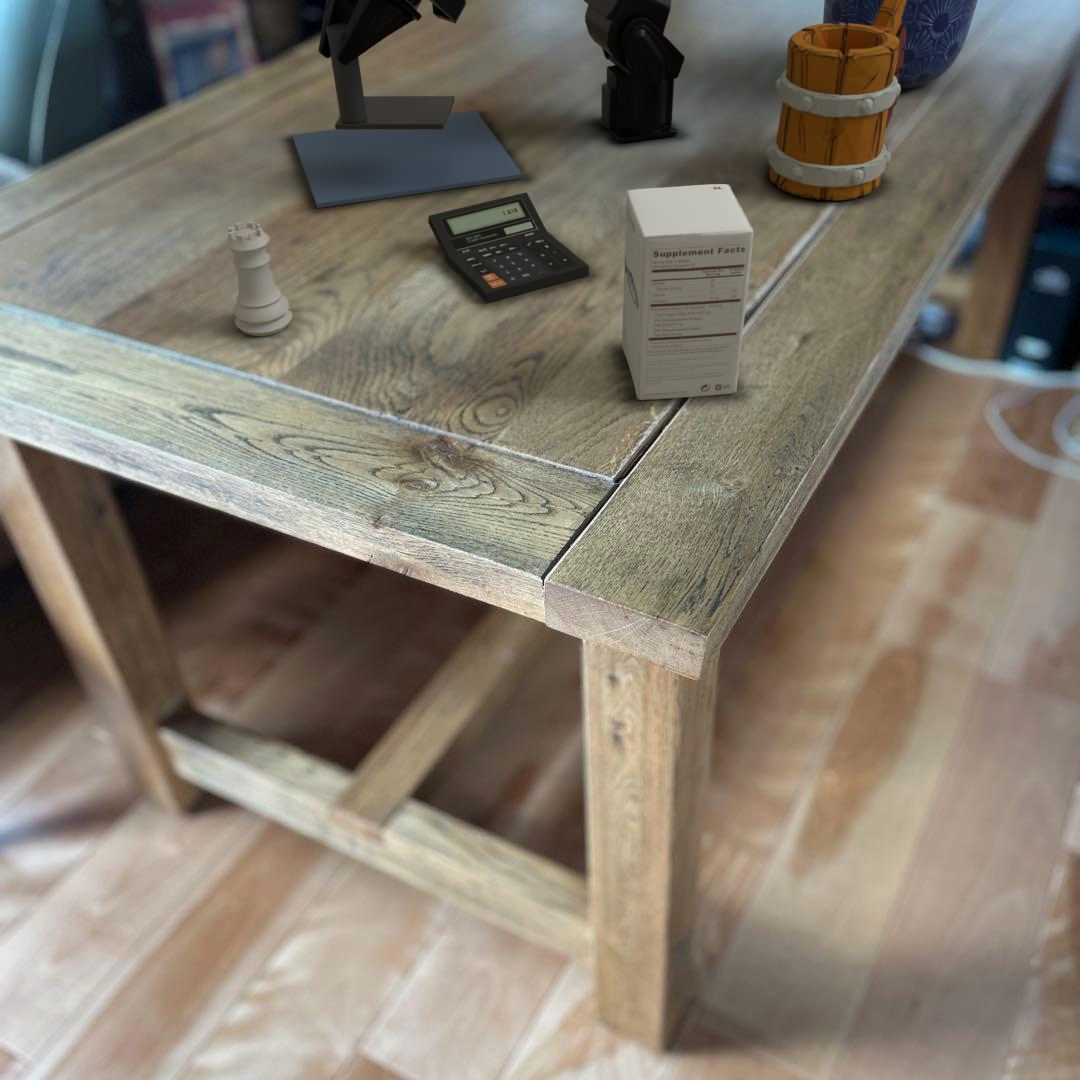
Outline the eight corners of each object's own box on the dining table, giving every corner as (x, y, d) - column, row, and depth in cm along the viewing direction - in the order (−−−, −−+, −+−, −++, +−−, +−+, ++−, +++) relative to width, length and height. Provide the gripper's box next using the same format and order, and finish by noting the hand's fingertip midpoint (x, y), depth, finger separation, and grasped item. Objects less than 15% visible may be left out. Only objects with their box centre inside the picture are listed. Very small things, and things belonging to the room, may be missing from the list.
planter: (937, 113, 118) (971, -44, 108) (787, 87, 125) (805, -63, 115) (981, 66, 129) (1015, -81, 119) (840, 45, 135) (861, -96, 125)
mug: (742, 183, 106) (759, 15, 96) (834, 133, 114) (858, -26, 105) (841, 214, 100) (870, 39, 90) (930, 159, 109) (965, -6, 99)
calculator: (487, 303, 89) (485, 268, 87) (430, 246, 97) (427, 213, 95) (588, 275, 92) (588, 241, 90) (525, 222, 100) (524, 190, 98)
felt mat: (476, 115, 121) (476, 110, 120) (522, 178, 108) (522, 173, 107) (292, 139, 117) (291, 134, 116) (317, 208, 103) (316, 203, 103)
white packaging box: (619, 348, 83) (624, 186, 75) (717, 342, 84) (732, 180, 75) (634, 403, 78) (640, 235, 70) (738, 396, 78) (757, 228, 70)
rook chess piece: (303, 314, 88) (286, 219, 83) (275, 342, 85) (255, 245, 80) (254, 306, 90) (234, 212, 84) (225, 333, 86) (202, 237, 81)
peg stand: (454, 101, 106) (446, 6, 100) (443, 129, 101) (433, 31, 95) (352, 101, 107) (338, 7, 101) (335, 129, 102) (319, 32, 96)
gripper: (291, -185, 94) (206, -17, 97) (423, -160, 84) (324, 28, 86) (379, -98, 103) (299, 54, 106) (508, -66, 93) (417, 103, 95)
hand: (331, 58), depth 98 cm, fingers closed on peg stand, 2 cm apart
